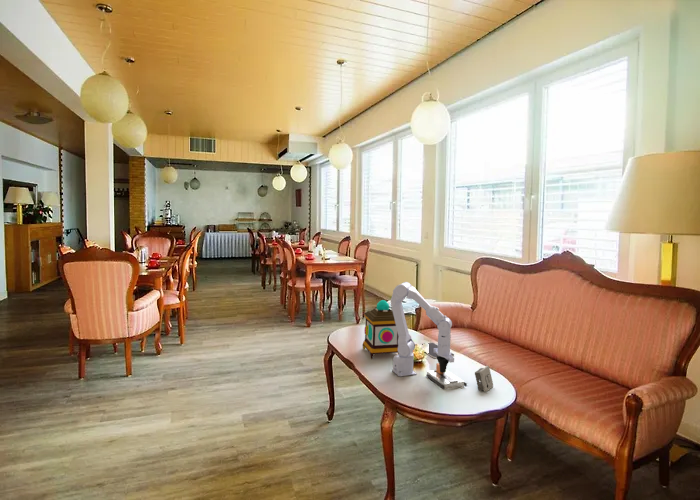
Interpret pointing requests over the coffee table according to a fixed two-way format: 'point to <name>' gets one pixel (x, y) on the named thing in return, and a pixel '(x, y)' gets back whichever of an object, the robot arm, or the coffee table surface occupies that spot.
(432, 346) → the notebook
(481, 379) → the electrical switch
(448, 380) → the breaker panel
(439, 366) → the block
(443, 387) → the cord left
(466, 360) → the coffee table surface
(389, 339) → the decorative lantern
